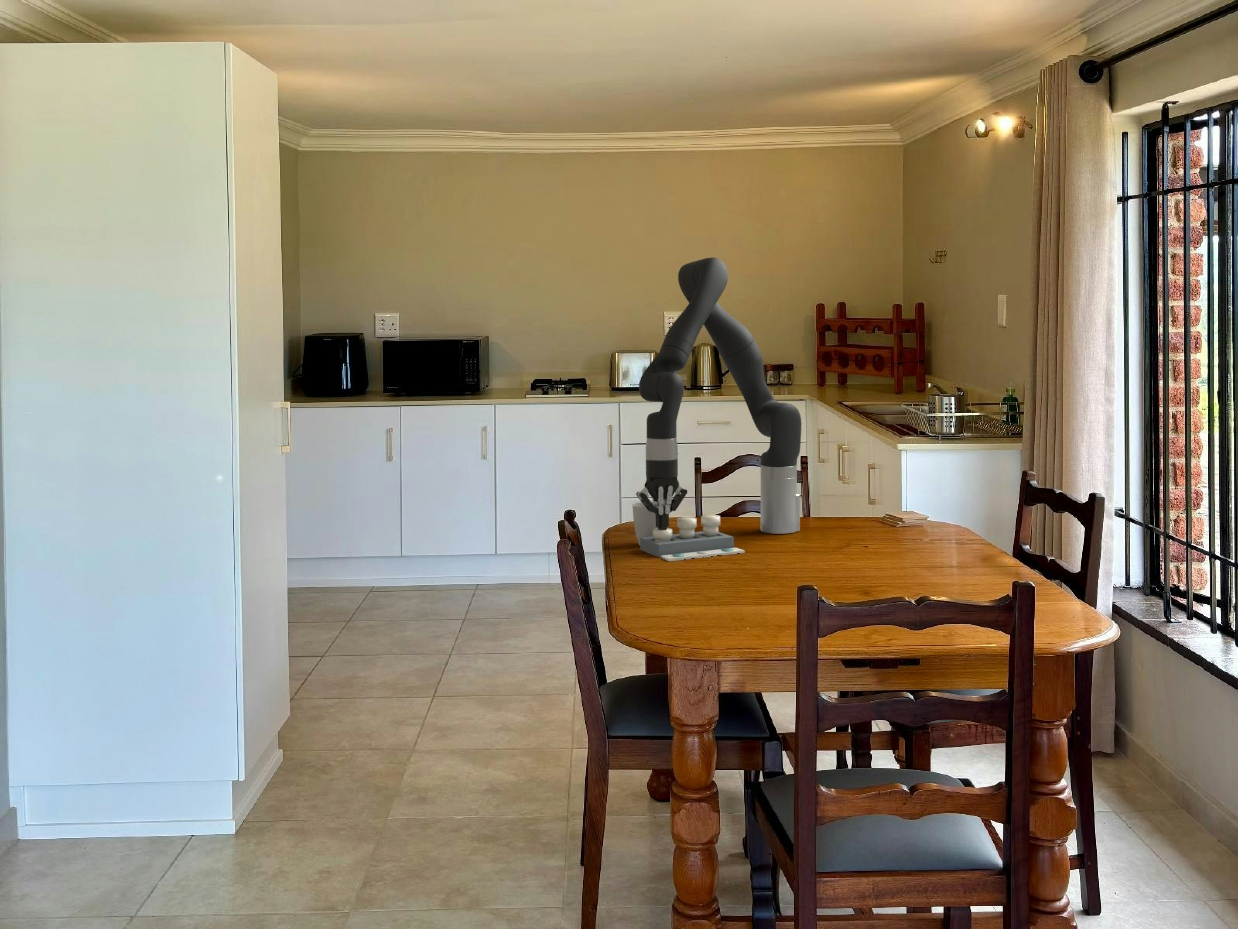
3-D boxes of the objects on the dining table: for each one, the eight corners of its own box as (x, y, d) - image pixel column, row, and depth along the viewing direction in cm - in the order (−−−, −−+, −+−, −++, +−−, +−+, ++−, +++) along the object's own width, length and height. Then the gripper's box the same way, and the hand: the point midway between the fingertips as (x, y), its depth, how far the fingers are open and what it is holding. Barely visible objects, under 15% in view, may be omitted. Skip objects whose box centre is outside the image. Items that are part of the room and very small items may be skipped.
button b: (690, 535, 284) (690, 516, 284) (700, 538, 280) (699, 519, 280) (674, 536, 282) (673, 518, 282) (682, 540, 278) (682, 521, 278)
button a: (714, 532, 287) (714, 514, 286) (723, 536, 283) (723, 517, 282) (697, 534, 285) (697, 515, 284) (707, 537, 281) (707, 518, 280)
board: (713, 542, 290) (713, 530, 290) (733, 549, 281) (733, 537, 281) (640, 549, 282) (640, 537, 282) (659, 557, 273) (658, 544, 273)
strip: (735, 550, 280) (735, 546, 280) (744, 553, 277) (744, 549, 277) (661, 558, 272) (660, 554, 272) (668, 561, 268) (668, 557, 268)
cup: (666, 541, 292) (666, 501, 291) (664, 548, 284) (664, 507, 283) (634, 541, 293) (633, 501, 291) (631, 547, 285) (630, 507, 283)
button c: (667, 546, 282) (666, 527, 281) (675, 549, 278) (675, 530, 277) (649, 548, 280) (649, 529, 279) (658, 551, 276) (658, 532, 275)
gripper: (679, 453, 282) (679, 525, 284) (629, 457, 277) (630, 529, 279) (694, 457, 275) (694, 529, 278) (643, 460, 270) (643, 534, 272)
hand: (662, 529), depth 278 cm, fingers closed
